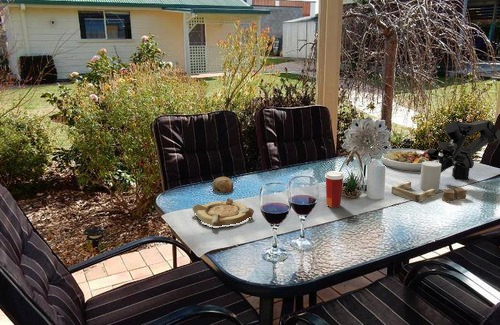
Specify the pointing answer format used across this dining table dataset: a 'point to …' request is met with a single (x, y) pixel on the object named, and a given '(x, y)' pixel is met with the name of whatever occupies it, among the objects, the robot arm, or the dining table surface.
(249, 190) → the dining table surface
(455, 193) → the walnut block
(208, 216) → the ashtray
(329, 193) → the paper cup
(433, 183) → the cup
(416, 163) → the bowl
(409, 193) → the open wooden frame
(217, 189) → the bread roll
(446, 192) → the walnut block
